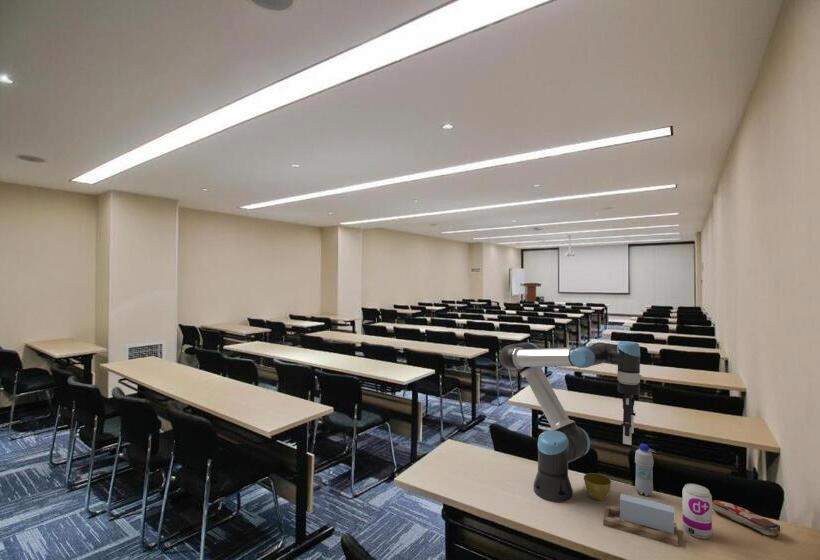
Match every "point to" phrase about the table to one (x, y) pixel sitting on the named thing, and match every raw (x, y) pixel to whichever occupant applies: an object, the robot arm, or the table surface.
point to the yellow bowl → (597, 485)
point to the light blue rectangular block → (647, 513)
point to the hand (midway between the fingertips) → (628, 438)
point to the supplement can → (697, 511)
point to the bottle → (644, 470)
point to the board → (638, 527)
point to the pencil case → (746, 518)
